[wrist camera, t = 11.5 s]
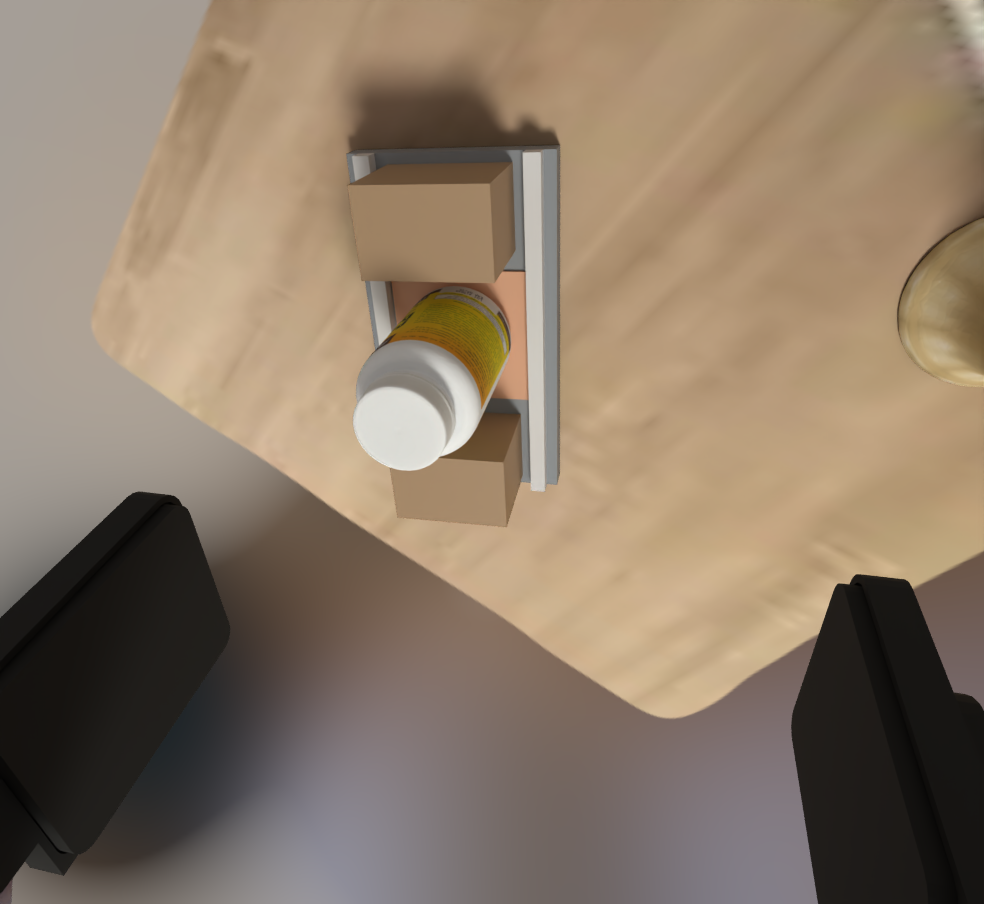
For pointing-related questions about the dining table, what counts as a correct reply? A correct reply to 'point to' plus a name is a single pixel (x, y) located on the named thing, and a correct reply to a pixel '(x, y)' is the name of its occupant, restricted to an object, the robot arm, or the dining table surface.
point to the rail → (489, 270)
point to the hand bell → (948, 309)
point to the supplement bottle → (431, 378)
